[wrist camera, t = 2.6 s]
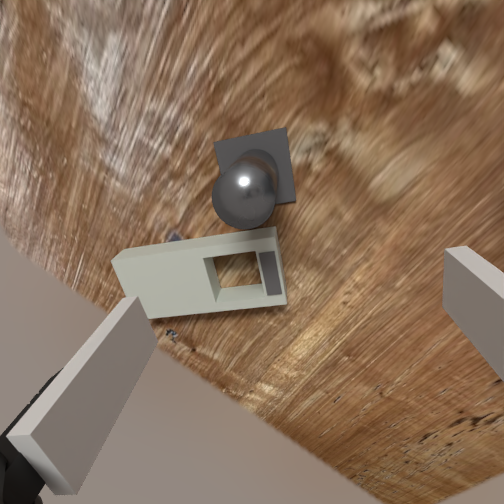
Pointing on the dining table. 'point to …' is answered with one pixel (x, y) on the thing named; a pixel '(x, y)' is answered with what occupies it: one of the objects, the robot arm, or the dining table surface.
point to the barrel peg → (247, 190)
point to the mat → (271, 143)
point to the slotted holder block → (200, 274)
